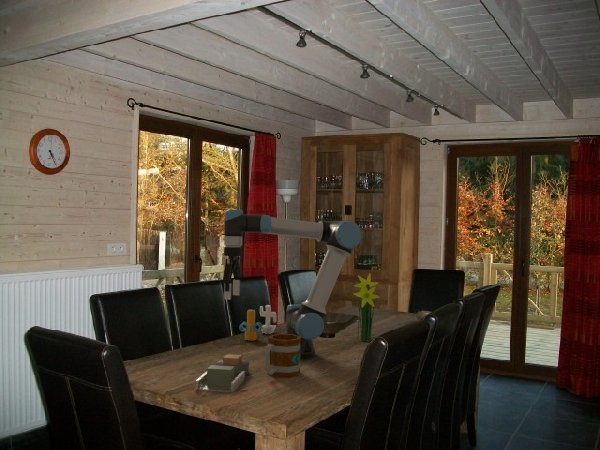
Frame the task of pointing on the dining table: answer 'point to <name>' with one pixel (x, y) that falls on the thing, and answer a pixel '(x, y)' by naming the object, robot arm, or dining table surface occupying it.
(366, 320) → the daffodil flowers
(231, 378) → the olive green block
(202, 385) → the bracket
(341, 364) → the dining table surface
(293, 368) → the mug
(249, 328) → the orange knobbed block
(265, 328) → the figurine
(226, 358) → the grey block tan top
